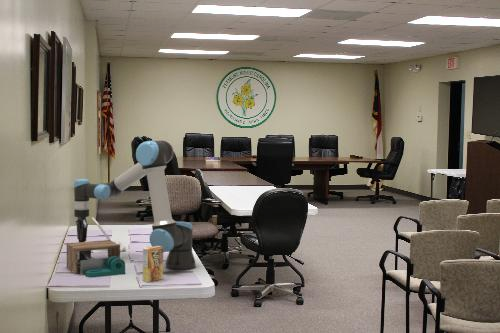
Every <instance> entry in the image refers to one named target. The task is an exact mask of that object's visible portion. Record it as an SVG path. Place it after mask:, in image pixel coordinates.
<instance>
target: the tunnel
mask: <svg viewBox="0 0 500 333" xmlns="http://www.w3.org/2000/svg"><path fill="white" fill-rule="evenodd" d="M120 245H121V244H120ZM120 245H119V244H117V243H115V241H113V240H108V239H103V240H93V241H85V242H79V241H78V242H70V243H69V242H68V243H66V269H68V270H69V271H70V272H72V273H73V274H75V275H78V273H79V272H78V271H79V269H78V267H79V266H78V251H89V250H91V251H92V250H100V249H108V253H107V258H109V257H113V256H116V257H119V258H120V259H121V252H120Z"/></svg>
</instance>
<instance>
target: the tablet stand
mask: <svg viewBox="0 0 500 333" xmlns="http://www.w3.org/2000/svg"><path fill="white" fill-rule="evenodd" d="M91 219H92V220H93V222H94V224H96V226H97V227H98V228H99V230H100V231H101V233H102V234H103V235H104V237H105V238H106V240H111V238H110V237H109V235H108V234H107V233H106V231H105V230H104V228H103V227H102V226H101V225H100V223H99V222H98V221H97V220H96V219H95V218H94V216H92V217H91ZM111 241H112V240H111ZM114 242H115V243H117V244H119V245H120V253H121V252H124V250H126V249H127V247H126V246H125V245H124V244H123V243H122V241H120V240H119V239H116V240H115V241H114ZM91 253H93V254H96V255H97V254H108V249H100V250H91Z"/></svg>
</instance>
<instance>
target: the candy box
mask: <svg viewBox="0 0 500 333" xmlns="http://www.w3.org/2000/svg"><path fill="white" fill-rule="evenodd" d="M142 249H143V250H142V282H145V283H150V282H155V281H159V280H163V275H164V274H163V272H164V271H163V270H164V268H163V267H164V252H163V247H161V246H154V247H152V246H151V247H150V246H149V247H143V248H142Z"/></svg>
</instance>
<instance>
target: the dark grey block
mask: <svg viewBox="0 0 500 333" xmlns="http://www.w3.org/2000/svg"><path fill="white" fill-rule="evenodd" d="M109 258H110V257H109ZM109 258H108V257H101V258H94V257H92V250H89V251H78V260H80V266H79V275H86V271H88V270H96V269H106V268H107V261H108V259H109ZM118 258H119V257H118ZM86 259H87V260H86Z"/></svg>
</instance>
